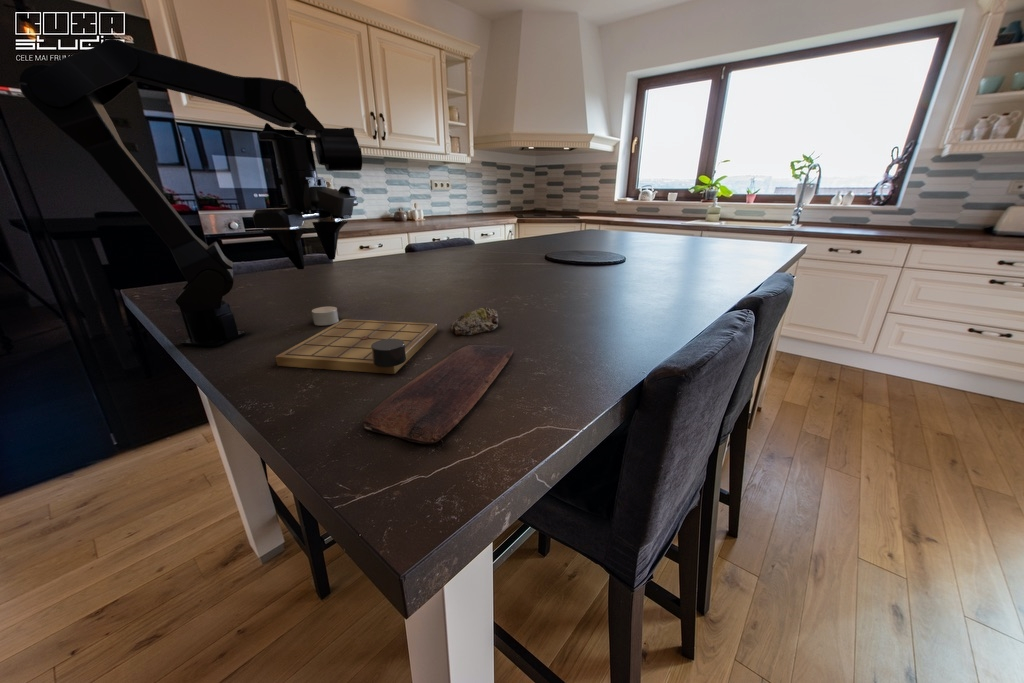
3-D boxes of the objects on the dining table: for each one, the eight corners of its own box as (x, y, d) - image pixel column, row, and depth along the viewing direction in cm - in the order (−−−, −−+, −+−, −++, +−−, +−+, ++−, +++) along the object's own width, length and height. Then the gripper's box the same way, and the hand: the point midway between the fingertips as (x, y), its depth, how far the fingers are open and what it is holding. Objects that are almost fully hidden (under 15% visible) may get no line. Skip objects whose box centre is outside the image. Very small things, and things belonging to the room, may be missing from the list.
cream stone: (308, 325, 74) (306, 312, 74) (322, 318, 79) (320, 306, 78) (330, 326, 74) (328, 313, 73) (343, 319, 78) (341, 306, 77)
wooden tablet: (465, 336, 64) (523, 337, 61) (467, 349, 65) (524, 350, 61) (352, 421, 41) (435, 429, 37) (357, 439, 42) (439, 449, 38)
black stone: (367, 366, 53) (365, 349, 52) (382, 353, 57) (380, 337, 56) (398, 368, 53) (396, 351, 52) (411, 355, 57) (409, 339, 56)
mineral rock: (473, 305, 79) (504, 300, 74) (479, 326, 80) (510, 323, 75) (434, 320, 71) (466, 316, 66) (441, 343, 72) (472, 341, 67)
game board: (277, 366, 57) (274, 355, 56) (344, 326, 74) (343, 318, 73) (394, 374, 54) (393, 363, 54) (437, 331, 71) (436, 323, 71)
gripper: (305, 167, 56) (327, 275, 62) (369, 171, 74) (382, 255, 79) (237, 170, 58) (265, 275, 64) (315, 173, 75) (331, 255, 81)
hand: (317, 264), depth 72 cm, fingers open, 9 cm apart
